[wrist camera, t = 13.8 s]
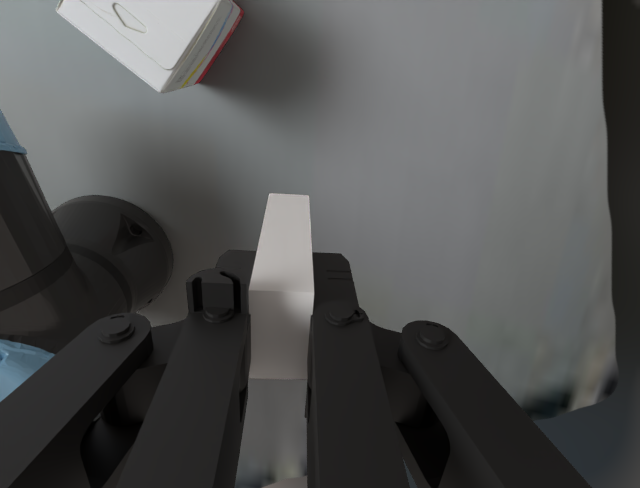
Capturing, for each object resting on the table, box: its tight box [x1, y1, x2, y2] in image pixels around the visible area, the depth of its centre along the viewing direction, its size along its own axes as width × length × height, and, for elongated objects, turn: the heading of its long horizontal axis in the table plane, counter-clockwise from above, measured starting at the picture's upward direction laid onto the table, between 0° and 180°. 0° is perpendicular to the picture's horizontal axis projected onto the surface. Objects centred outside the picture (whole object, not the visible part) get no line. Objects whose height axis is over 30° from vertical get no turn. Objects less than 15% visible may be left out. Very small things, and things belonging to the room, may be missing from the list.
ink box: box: [56, 0, 244, 93], centre depth 32 cm, size 9×9×12 cm
